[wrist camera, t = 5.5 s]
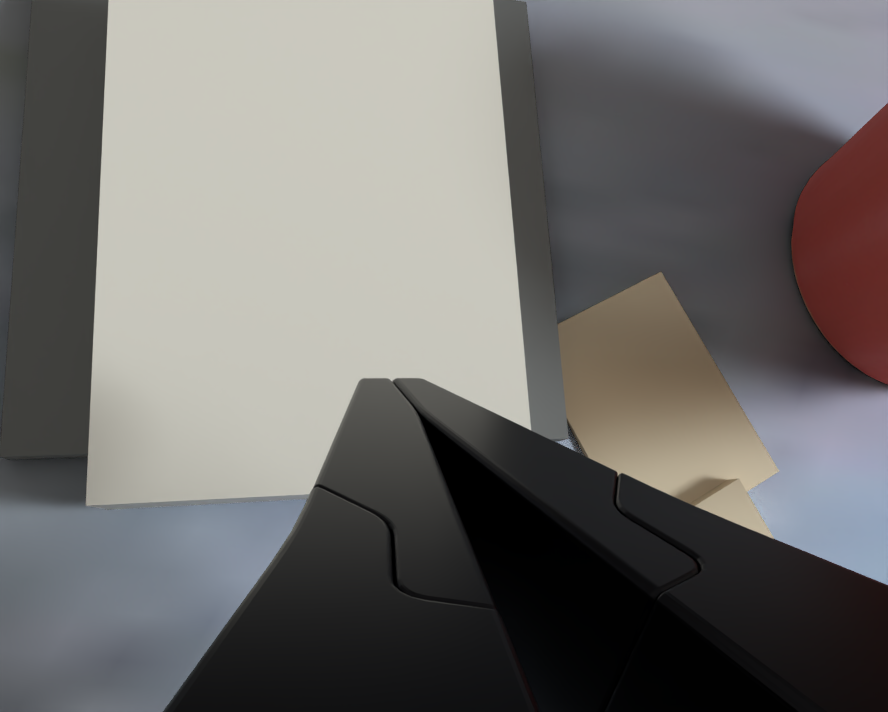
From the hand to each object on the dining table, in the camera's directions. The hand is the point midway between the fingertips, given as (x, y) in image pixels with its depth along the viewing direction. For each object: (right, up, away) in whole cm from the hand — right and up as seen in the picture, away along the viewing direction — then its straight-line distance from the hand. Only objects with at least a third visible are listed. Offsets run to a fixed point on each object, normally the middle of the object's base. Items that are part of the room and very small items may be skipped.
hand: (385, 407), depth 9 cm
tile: (-2, -2, +5) cm, 5 cm away
